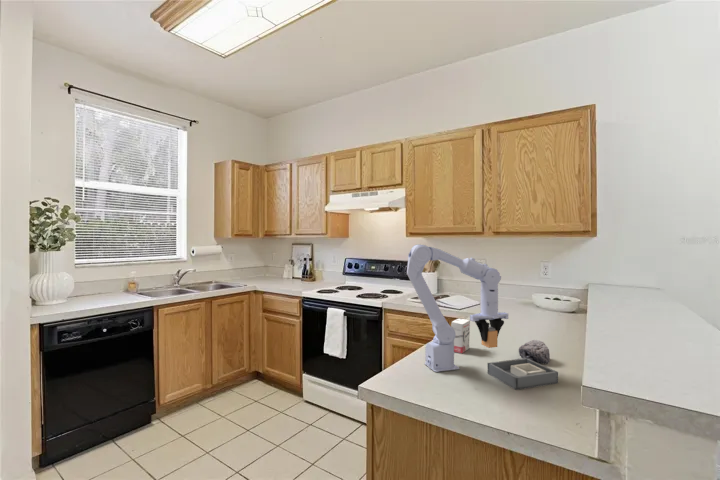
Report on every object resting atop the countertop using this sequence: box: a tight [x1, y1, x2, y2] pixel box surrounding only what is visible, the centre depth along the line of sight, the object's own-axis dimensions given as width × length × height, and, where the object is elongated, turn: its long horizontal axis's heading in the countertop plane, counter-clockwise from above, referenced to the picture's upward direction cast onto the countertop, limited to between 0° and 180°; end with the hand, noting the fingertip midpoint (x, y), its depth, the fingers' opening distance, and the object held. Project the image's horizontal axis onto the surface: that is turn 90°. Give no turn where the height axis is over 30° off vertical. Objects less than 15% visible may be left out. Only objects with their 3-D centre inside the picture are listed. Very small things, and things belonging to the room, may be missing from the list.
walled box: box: [487, 358, 559, 391], centre depth 109 cm, size 16×13×4 cm
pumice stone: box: [518, 339, 551, 365], centre depth 125 cm, size 10×8×10 cm
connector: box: [481, 325, 498, 349], centre depth 119 cm, size 4×4×6 cm
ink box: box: [450, 318, 471, 354], centre depth 137 cm, size 9×5×12 cm, turn 143°
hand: (489, 340), depth 119 cm, fingers closed on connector, 3 cm apart
